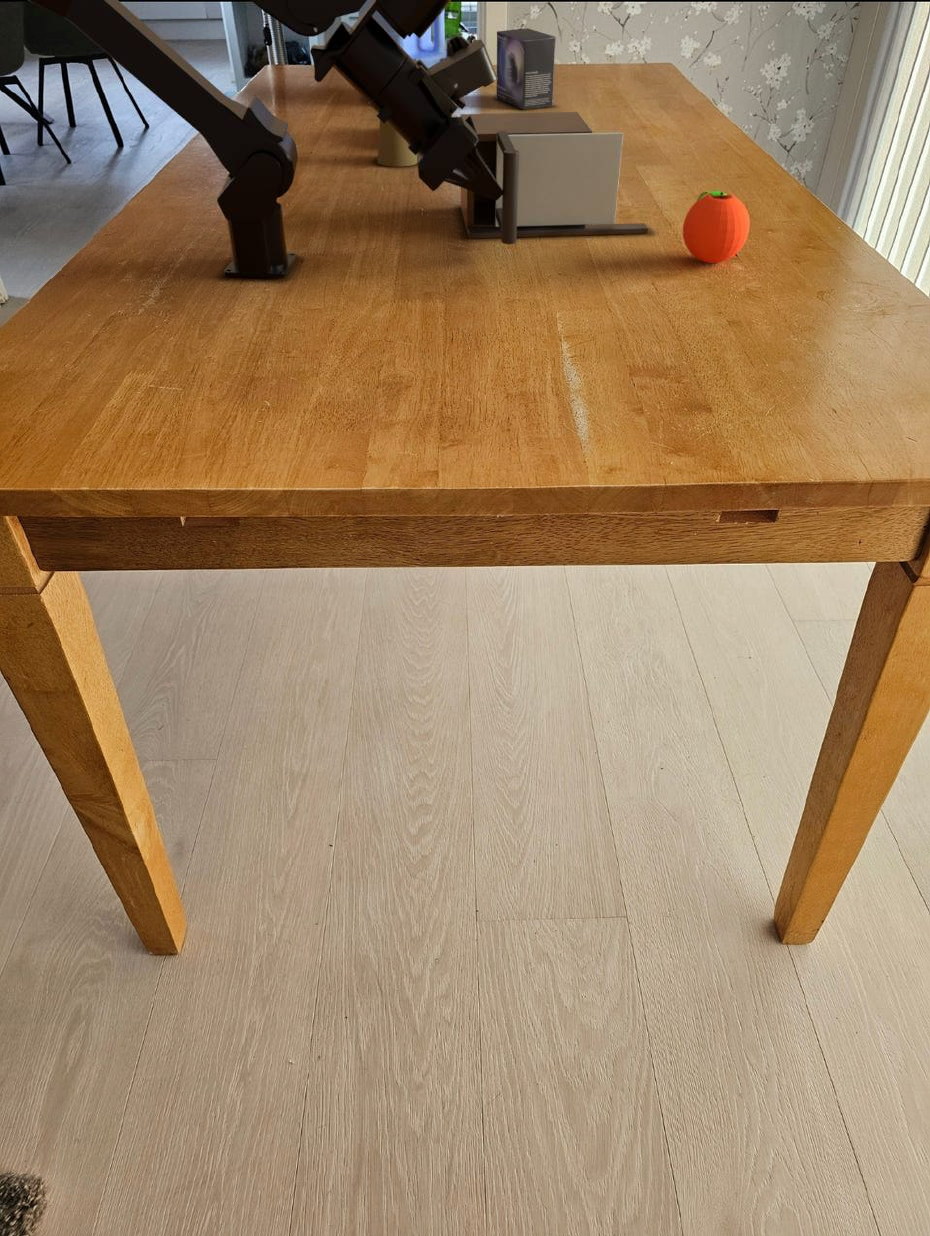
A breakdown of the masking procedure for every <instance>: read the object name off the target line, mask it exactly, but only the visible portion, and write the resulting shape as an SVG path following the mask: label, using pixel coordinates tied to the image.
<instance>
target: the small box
mask: <svg viewBox="0 0 930 1236" xmlns="http://www.w3.org/2000/svg"><path fill="white" fill-rule="evenodd" d="M556 40H557V37H556V36H554V35H551V34H548V33H544V32H541V31H537V30H535V29H532V28H528V27H526V28H525V27H524V28H516V29H508V30H506V29H505V30H497V31H496V75H497V80H496V95H495V96H496V99H497V100H501V101H502V102H505V103H508V104H509V105H511V106H514V107H517V108H518V109H521V110H532V109H540V108H541V109H542V108H550V107H553V106H554V81H555V79H554V78H555V56H556V55H555V53H556V42H557V41H556Z"/></svg>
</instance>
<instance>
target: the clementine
mask: <svg viewBox="0 0 930 1236" xmlns="http://www.w3.org/2000/svg"><path fill="white" fill-rule="evenodd" d="M686 213H687V214H686V215H685V218H684V221H683V225H682V238H683V240H684V244H685V247H686V249H687V250H688V252H689V253H690V254H691V255H692V256H693V257H695V259H697V260H700V261H702V262H704V263H709V264H716V263H723V262H725V261H727V260H729V259H731V258H733V257H734V256H735V255H736V254H737V253H738V252H739V251H741V250H742V248H743V247H744V245H745V244H746V242H747V239H748V236H749V233H750V223H751V222H750V221H751V220H750V216H749V212H748V210H747V208H746V207H745V205H744V203H743V202H742V201H741V200H740V199H739V198H737V197H736V196H735V195H733V194H730V193H726V192H723V191H721V190H709V191H703V192H701V193H700V194H699V195H698V197H697V199H696V202H694V203H693V205H692V206H691V207H690V208H689V210H688V211H687V212H686Z"/></svg>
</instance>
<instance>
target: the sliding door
mask: <svg viewBox="0 0 930 1236" xmlns="http://www.w3.org/2000/svg"><path fill="white" fill-rule="evenodd" d="M623 142H624V133H623V132H622V131H621V132H620V131H619V132H617V131H615V132H614V131H613V132H593V133H567V134H521V135H508V134H507V132H506V131H498V132H497V146H496V181H497V182H498V184H499V185H500V187H501V189H502V191H503V195H502V196H501V197H500V198H499V199H498V200H496V203H495V226H496V227H499V228H500V231H501V234H502V238H500V239H501V243H502V244H504V245H514V244H517V237H516V234H517V226H549V225H598V224H616V216H617V215H616V214H617V213H616V212H617V205H618V194H619V184H620V183H619V182H620V172H621V163H622V151H623Z"/></svg>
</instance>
